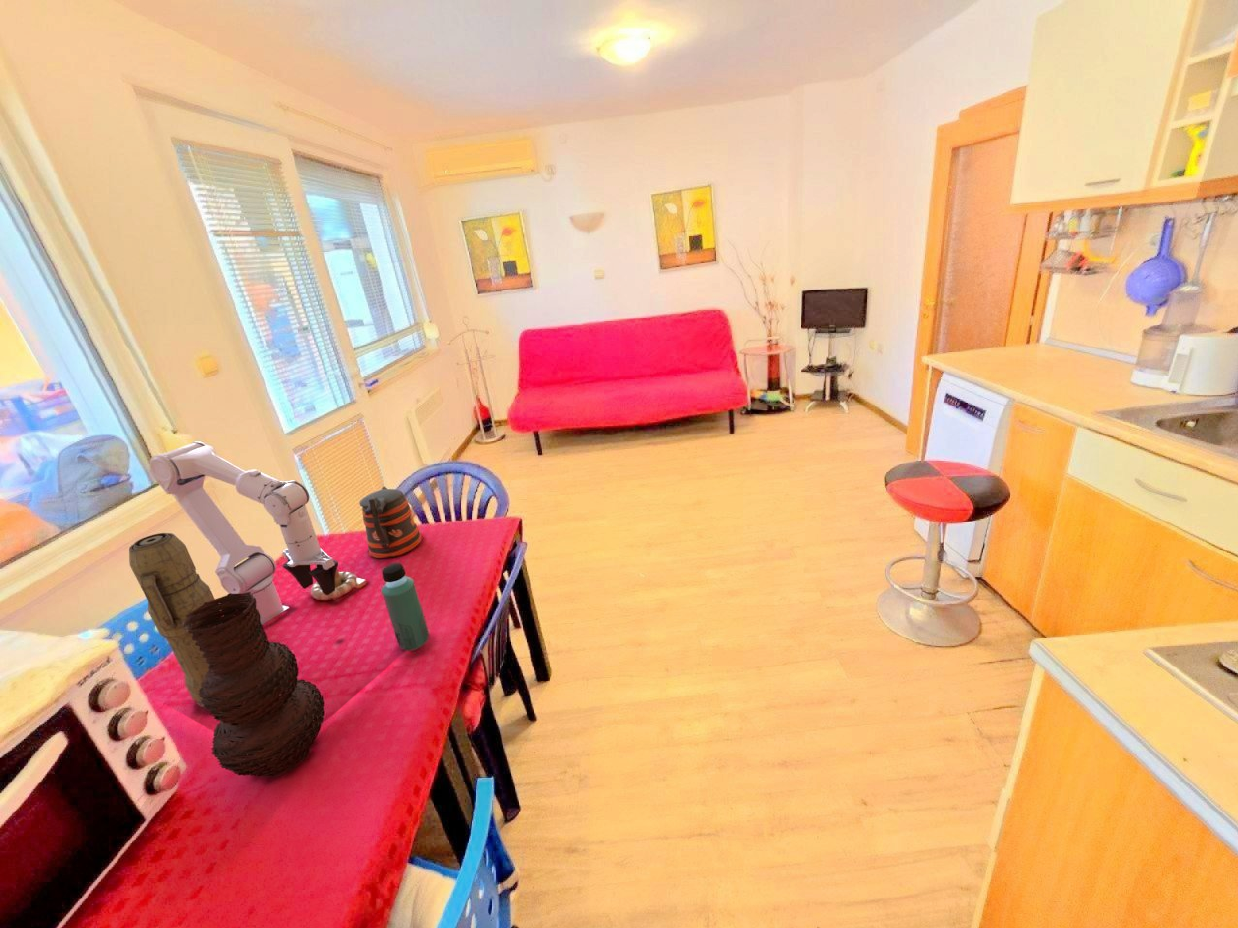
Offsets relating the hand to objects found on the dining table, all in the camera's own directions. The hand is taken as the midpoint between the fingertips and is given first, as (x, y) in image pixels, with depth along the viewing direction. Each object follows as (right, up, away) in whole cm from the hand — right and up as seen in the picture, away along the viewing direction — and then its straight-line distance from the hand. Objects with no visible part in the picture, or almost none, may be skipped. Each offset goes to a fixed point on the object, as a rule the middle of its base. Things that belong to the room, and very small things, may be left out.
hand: (319, 589), depth 115 cm
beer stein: (+3, +3, +33) cm, 34 cm away
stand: (-4, -4, +16) cm, 17 cm away
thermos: (-9, -17, -15) cm, 25 cm away
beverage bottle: (+25, -11, -7) cm, 28 cm away
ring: (-4, -2, +14) cm, 15 cm away
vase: (+12, -21, -29) cm, 38 cm away
